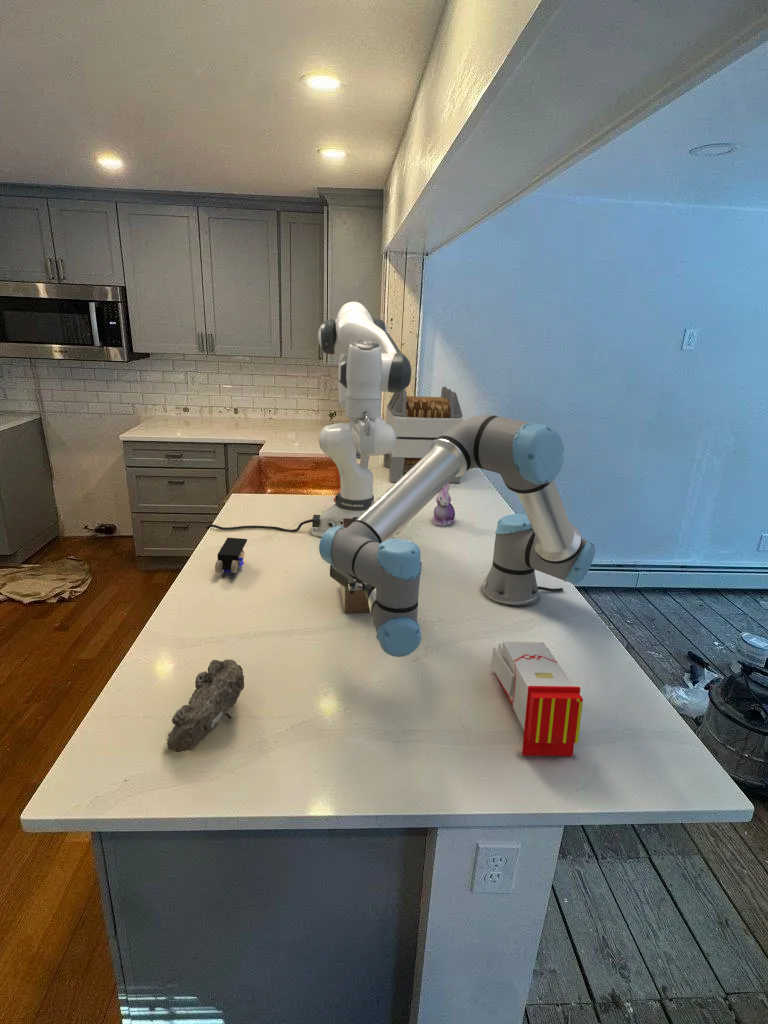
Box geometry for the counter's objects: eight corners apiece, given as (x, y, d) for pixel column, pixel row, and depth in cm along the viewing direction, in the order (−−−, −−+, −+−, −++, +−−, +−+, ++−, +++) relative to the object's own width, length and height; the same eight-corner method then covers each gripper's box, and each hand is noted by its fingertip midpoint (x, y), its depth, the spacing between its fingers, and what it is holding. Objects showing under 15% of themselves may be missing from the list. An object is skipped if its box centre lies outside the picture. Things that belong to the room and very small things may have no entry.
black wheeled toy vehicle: (238, 584, 162) (249, 557, 175) (236, 562, 158) (247, 536, 172) (215, 584, 161) (227, 556, 175) (212, 561, 158) (225, 535, 171)
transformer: (382, 463, 289) (386, 382, 275) (445, 464, 293) (451, 384, 279) (390, 482, 257) (394, 392, 243) (460, 483, 261) (468, 394, 247)
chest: (339, 589, 159) (340, 553, 155) (373, 587, 161) (375, 552, 157) (344, 612, 147) (345, 574, 143) (381, 611, 149) (382, 572, 145)
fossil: (192, 660, 117) (244, 628, 112) (224, 691, 120) (276, 661, 115) (142, 746, 98) (202, 712, 93) (182, 779, 101) (242, 748, 96)
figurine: (440, 528, 206) (443, 489, 201) (425, 519, 214) (428, 481, 209) (461, 525, 210) (465, 486, 205) (446, 516, 219) (449, 478, 214)
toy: (540, 624, 127) (592, 694, 97) (535, 679, 129) (584, 763, 100) (486, 623, 126) (522, 693, 97) (482, 678, 129) (516, 762, 100)
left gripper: (382, 416, 132) (380, 474, 136) (370, 402, 151) (368, 453, 155) (355, 416, 131) (354, 474, 135) (346, 402, 149) (345, 453, 154)
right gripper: (322, 618, 110) (316, 571, 130) (446, 612, 115) (422, 567, 134) (323, 584, 108) (317, 540, 128) (449, 579, 112) (424, 538, 132)
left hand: (361, 463), depth 145 cm, fingers open, 8 cm apart
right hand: (371, 554), depth 131 cm, fingers open, 13 cm apart
